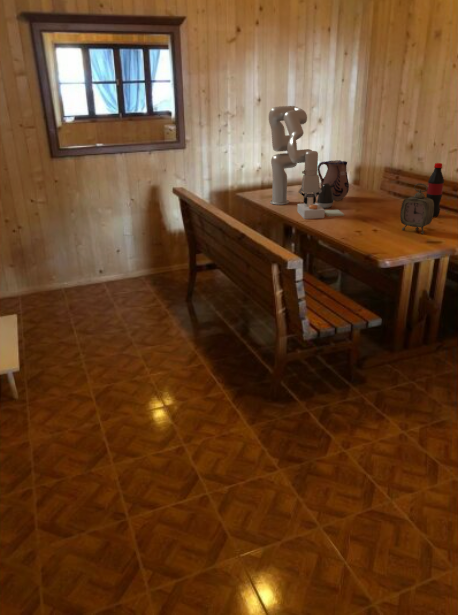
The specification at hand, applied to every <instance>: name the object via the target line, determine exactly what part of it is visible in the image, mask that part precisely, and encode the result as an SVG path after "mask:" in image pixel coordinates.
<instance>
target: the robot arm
mask: <svg viewBox="0 0 458 615" xmlns="http://www.w3.org/2000/svg"><path fill="white" fill-rule="evenodd" d="M307 121H308V114H307V112H306V111H305V110H303V109H302V108H299V107H298V106H295V105H283V106H281V105H280V106H275V107H272V108H271V109H270V110H269V113H268V123H269V125H270V131H271V146H272V150H273V151H275V152H277V154H274V155H273V156H272V157H271V159H270V162H271V163H270V164H271V170H272V172H271V173H272V191H271V192H272V194H271V195H272V198H271V200H270V201H269V203H270V204H271V205H277V206H278V205H279V206H281V205H287V204H290V201H289V200H288V197H287V196H288V175H287V172H286V171H285V169H293V168H296V167H297V165H298V164H303V163H304V170H302V171H301V174H303V176H302V180H301V187H300V189H299V190H298V194H300V195H301V196H303V204H304V203H305V204H307V198H306V196H307V193H313V194H314V201H313V204H315V203H317V198H318V194H319V193H321V192H322V190H321V186H320V177H319V174H318V165H319V163H318V162H319V152H318V151H316V150H312V149H309V148H308V149H307V148H306V149H298V146H297V140H299V139H300V138H302V136H303V135H304V134H305V133H304V130H303V127H302V125H305V124H306V122H307ZM282 122H284V124H285V126H286V129H287V133H288V135H286V131H285V126H284V125H283V123H282ZM278 152H281V153H278ZM282 152H286V153H282Z"/></svg>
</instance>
